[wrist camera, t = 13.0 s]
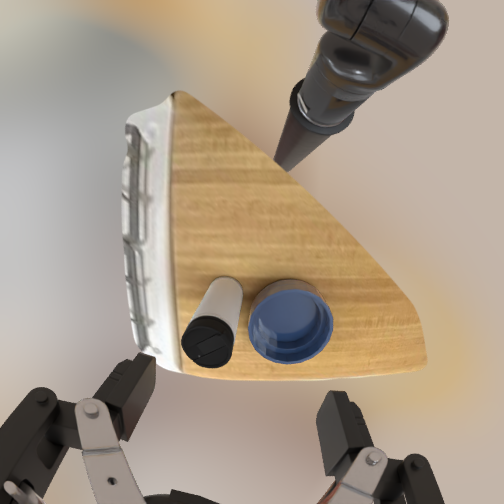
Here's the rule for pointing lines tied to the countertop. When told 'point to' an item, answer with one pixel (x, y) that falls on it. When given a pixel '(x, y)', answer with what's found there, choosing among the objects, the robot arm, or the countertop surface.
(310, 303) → the bowl
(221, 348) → the travel mug
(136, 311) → the countertop surface
